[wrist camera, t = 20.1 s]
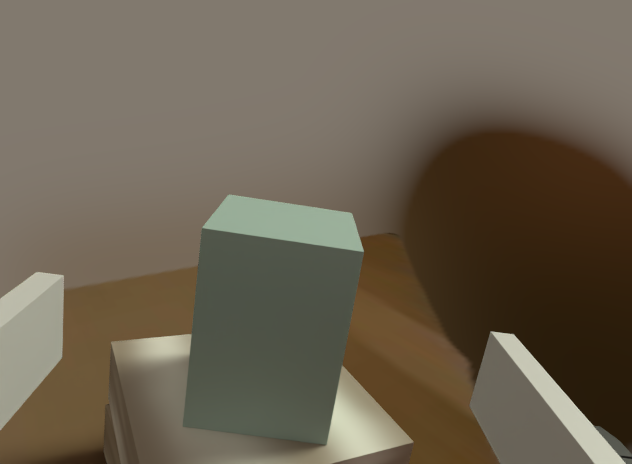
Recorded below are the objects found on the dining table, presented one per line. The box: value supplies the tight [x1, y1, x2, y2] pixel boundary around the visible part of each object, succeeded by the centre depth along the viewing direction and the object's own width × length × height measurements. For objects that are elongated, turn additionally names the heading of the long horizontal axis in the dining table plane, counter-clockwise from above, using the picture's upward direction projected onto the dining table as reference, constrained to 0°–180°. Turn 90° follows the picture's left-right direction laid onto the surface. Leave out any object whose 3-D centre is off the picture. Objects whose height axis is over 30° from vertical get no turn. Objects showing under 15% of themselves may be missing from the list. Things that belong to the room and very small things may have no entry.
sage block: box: [183, 195, 364, 445], centre depth 26 cm, size 7×7×10 cm
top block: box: [108, 334, 414, 464], centre depth 28 cm, size 13×13×4 cm
